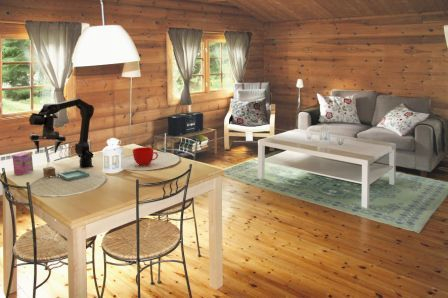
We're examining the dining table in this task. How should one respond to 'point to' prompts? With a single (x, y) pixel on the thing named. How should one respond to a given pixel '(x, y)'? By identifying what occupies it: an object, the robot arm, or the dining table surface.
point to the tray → (73, 174)
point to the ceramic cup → (143, 155)
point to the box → (22, 163)
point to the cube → (49, 171)
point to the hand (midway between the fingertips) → (46, 152)
